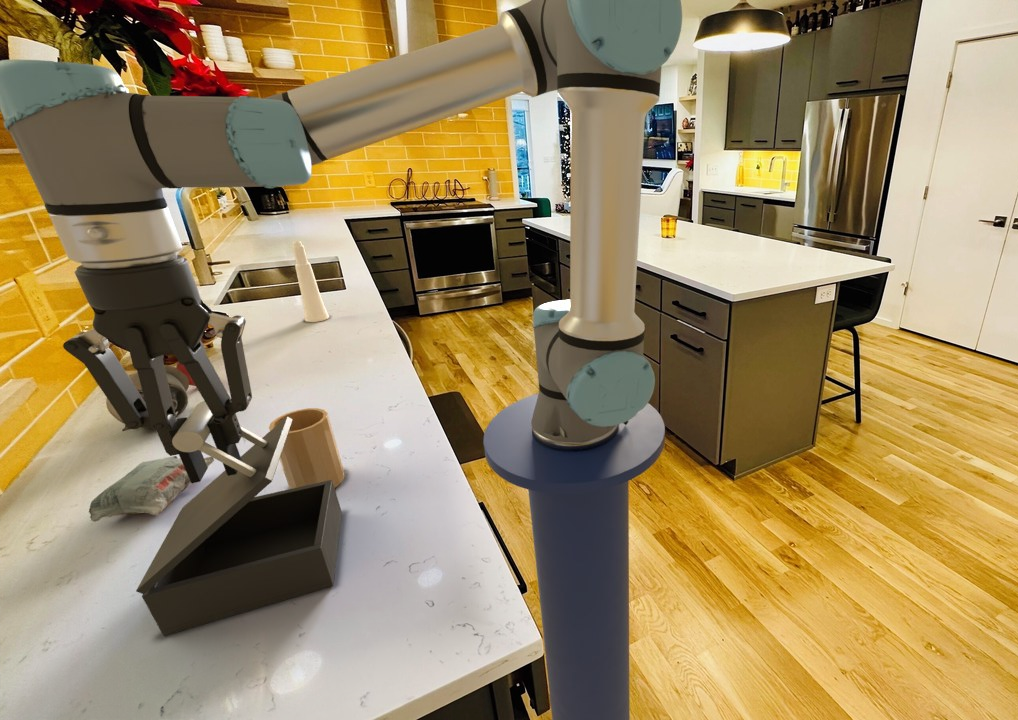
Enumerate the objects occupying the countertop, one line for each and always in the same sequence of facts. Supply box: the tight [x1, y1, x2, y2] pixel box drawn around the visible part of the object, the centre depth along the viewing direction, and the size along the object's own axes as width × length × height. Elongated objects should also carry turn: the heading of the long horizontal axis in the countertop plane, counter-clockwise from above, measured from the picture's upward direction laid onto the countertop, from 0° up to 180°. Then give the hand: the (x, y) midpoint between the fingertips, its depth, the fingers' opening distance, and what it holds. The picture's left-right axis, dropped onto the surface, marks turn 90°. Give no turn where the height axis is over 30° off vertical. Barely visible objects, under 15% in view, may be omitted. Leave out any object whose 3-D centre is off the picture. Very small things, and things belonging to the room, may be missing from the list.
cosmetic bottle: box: [291, 241, 330, 323], centre depth 140 cm, size 6×6×22 cm
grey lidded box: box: [141, 480, 343, 637], centre depth 60 cm, size 16×14×6 cm
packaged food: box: [88, 455, 215, 523], centre depth 71 cm, size 9×12×5 cm
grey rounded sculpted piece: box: [105, 364, 190, 432], centre depth 89 cm, size 10×12×10 cm
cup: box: [268, 407, 346, 489], centre depth 74 cm, size 7×7×11 cm
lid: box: [135, 400, 293, 595], centre depth 54 cm, size 16×14×9 cm
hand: (217, 471), depth 55 cm, fingers closed on lid, 2 cm apart
